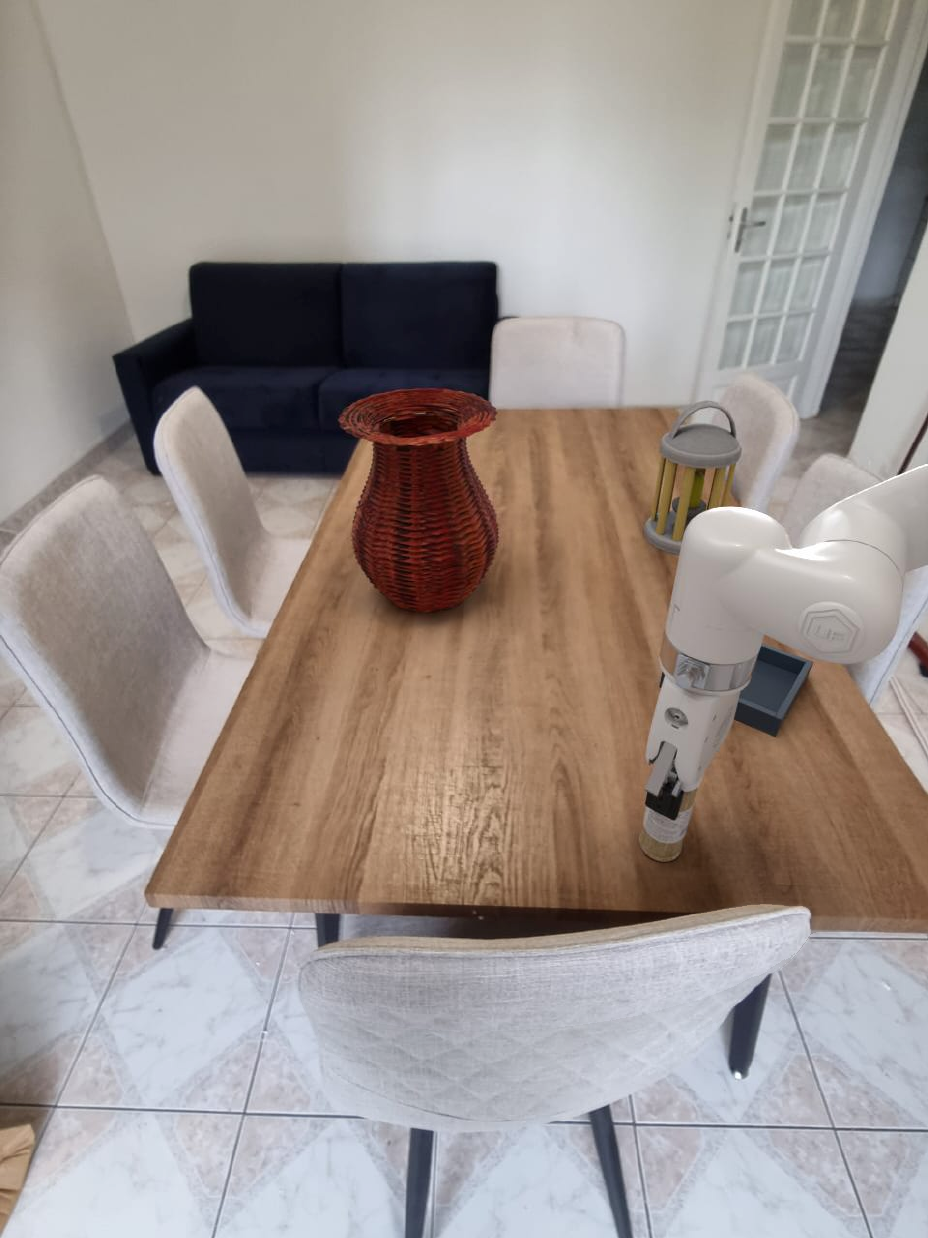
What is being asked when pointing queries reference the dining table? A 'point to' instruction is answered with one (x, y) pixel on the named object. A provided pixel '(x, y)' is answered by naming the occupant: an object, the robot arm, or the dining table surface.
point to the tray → (771, 689)
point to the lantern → (691, 475)
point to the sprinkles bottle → (667, 827)
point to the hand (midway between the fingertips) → (672, 792)
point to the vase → (422, 497)
